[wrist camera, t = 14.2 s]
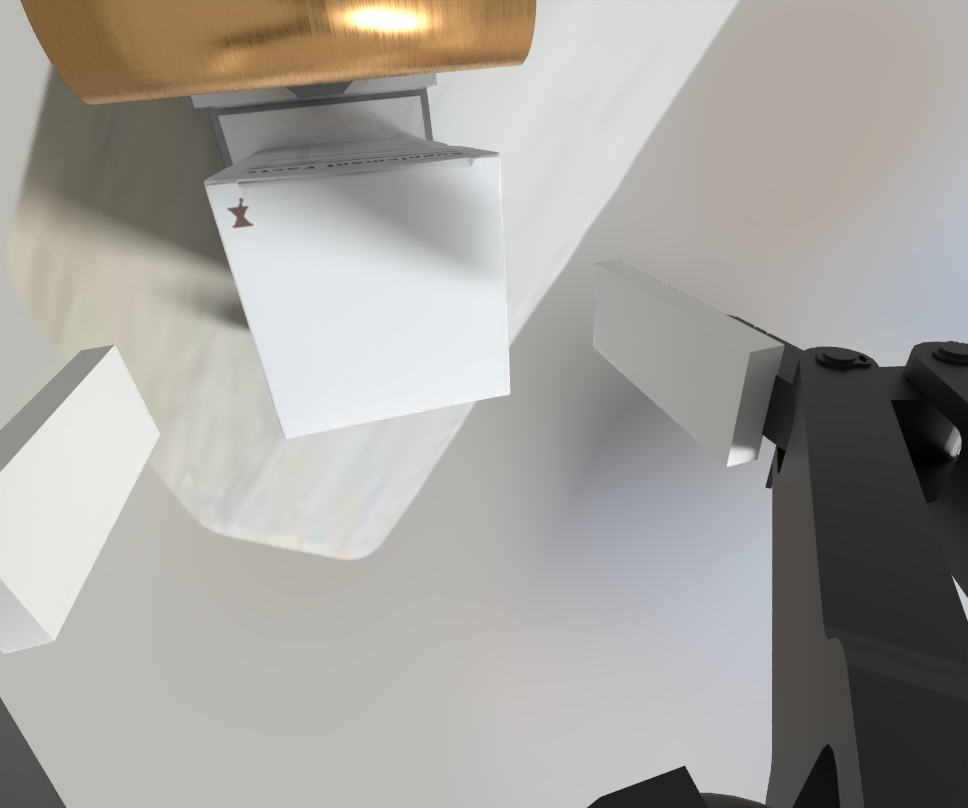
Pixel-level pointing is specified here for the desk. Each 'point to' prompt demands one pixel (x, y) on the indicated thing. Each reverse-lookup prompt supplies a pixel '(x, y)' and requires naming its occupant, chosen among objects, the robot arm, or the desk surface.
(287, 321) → the supplement box
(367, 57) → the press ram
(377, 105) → the press bed
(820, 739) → the robot arm
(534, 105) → the desk surface
